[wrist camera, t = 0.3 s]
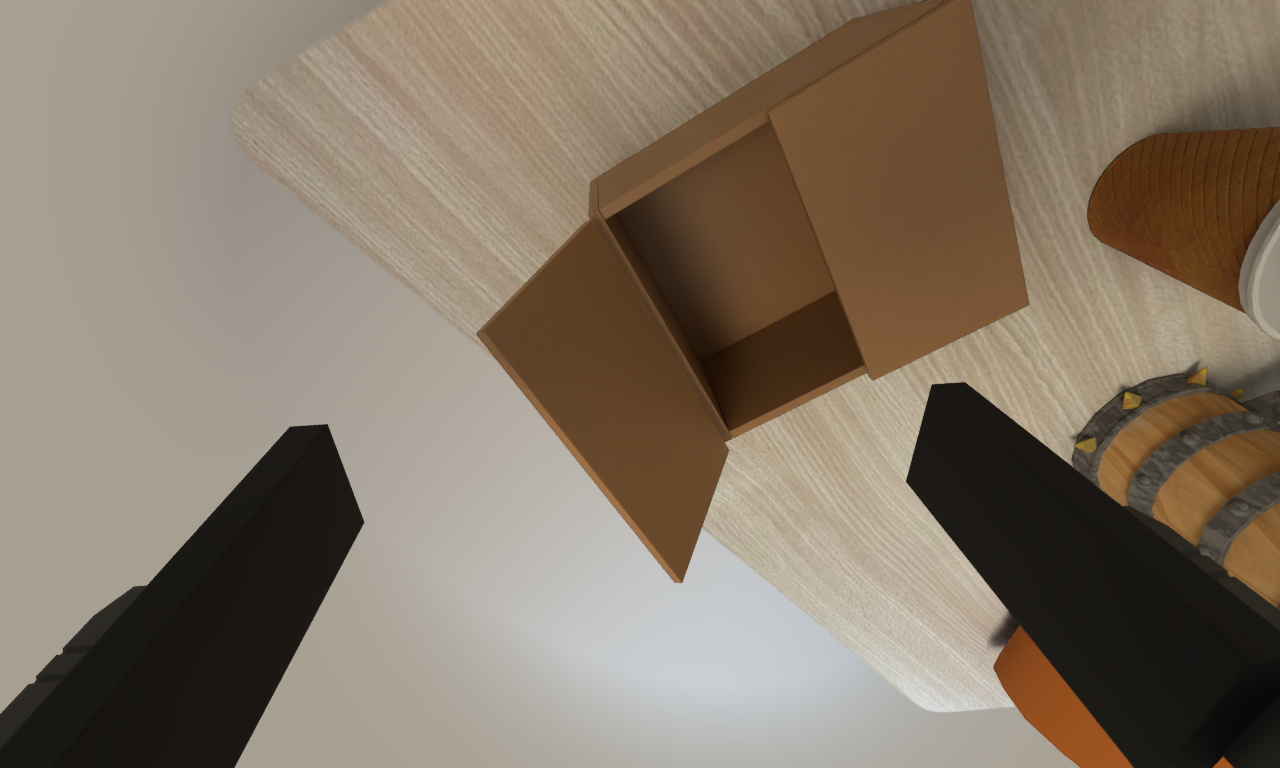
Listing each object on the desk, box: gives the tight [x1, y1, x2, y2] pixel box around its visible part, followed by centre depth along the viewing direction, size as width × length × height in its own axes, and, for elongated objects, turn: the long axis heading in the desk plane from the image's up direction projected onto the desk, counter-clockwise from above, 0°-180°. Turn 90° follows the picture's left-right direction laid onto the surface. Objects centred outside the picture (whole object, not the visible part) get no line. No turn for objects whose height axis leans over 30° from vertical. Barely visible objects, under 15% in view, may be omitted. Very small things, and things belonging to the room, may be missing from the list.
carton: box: [588, 0, 1029, 442], centre depth 26 cm, size 13×15×9 cm
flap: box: [476, 220, 729, 583], centre depth 21 cm, size 13×7×1 cm
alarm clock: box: [994, 625, 1233, 768], centre depth 44 cm, size 23×9×17 cm, turn 83°
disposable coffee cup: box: [1088, 127, 1280, 340], centre depth 26 cm, size 10×10×12 cm
